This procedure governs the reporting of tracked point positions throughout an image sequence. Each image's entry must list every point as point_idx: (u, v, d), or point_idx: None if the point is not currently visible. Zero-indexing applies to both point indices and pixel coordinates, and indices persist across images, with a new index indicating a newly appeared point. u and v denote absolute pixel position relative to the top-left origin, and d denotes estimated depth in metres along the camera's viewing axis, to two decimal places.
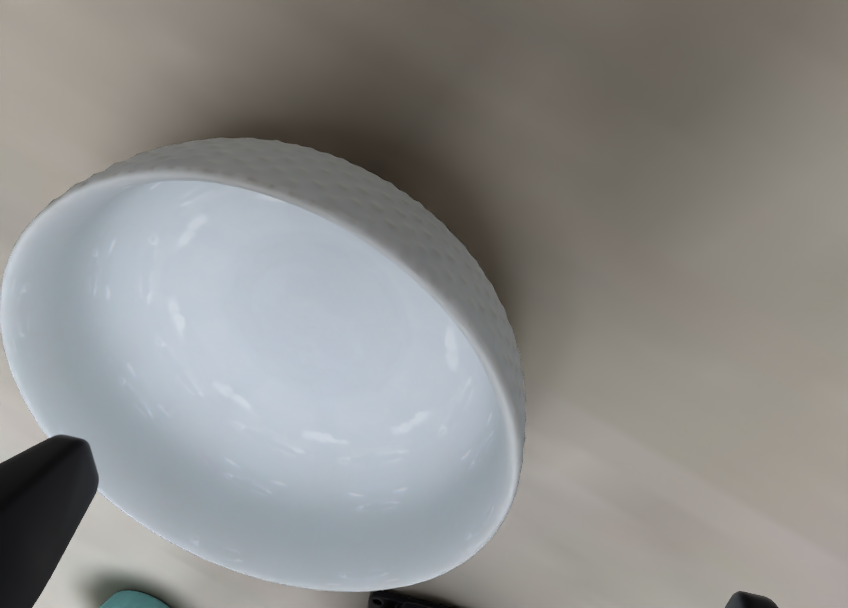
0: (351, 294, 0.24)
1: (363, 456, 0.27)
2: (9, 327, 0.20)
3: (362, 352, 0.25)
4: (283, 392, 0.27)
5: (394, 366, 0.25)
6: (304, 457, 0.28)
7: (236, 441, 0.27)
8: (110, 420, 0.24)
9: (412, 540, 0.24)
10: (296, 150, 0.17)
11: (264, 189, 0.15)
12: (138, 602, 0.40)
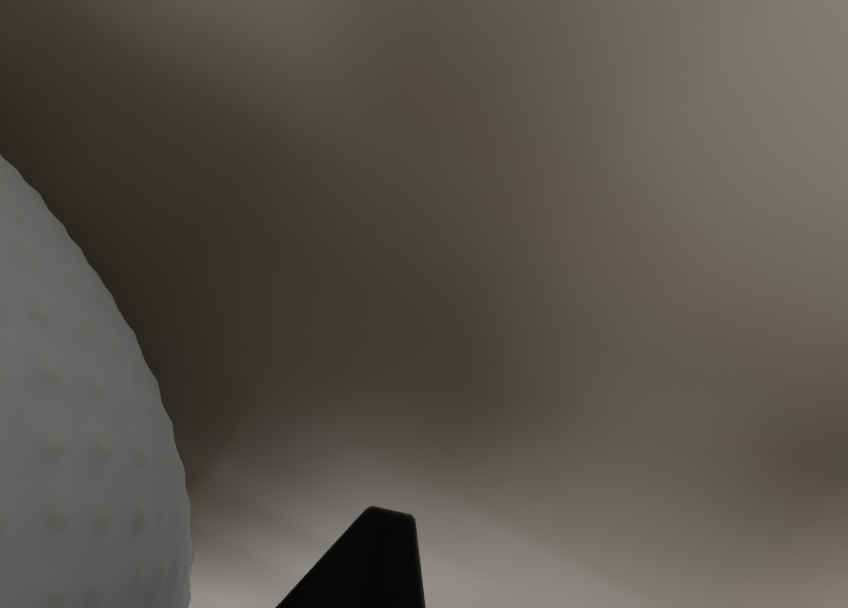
0: None
1: None
2: None
3: None
4: None
5: None
6: None
7: None
8: None
9: None
10: None
11: None
12: None
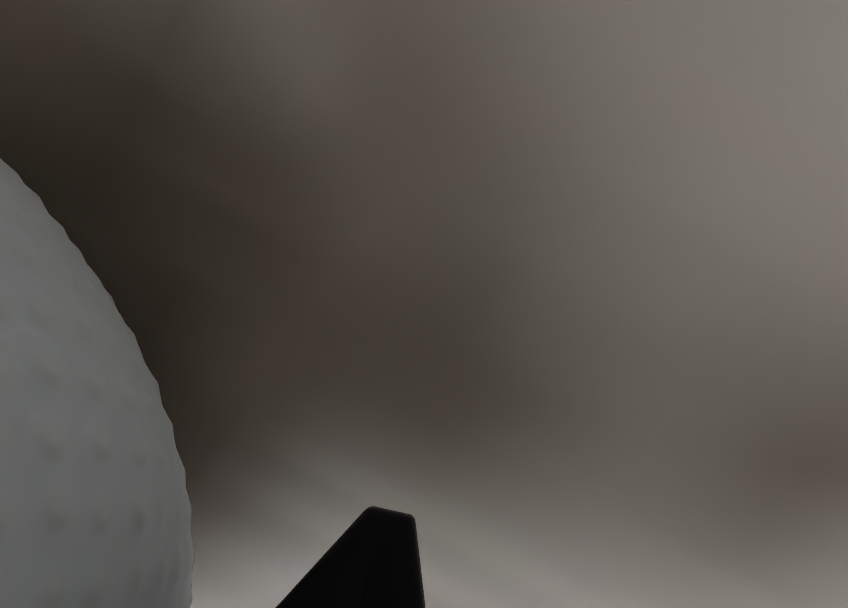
0: None
1: None
2: None
3: None
4: None
5: None
6: None
7: None
8: None
9: None
10: None
11: None
12: None
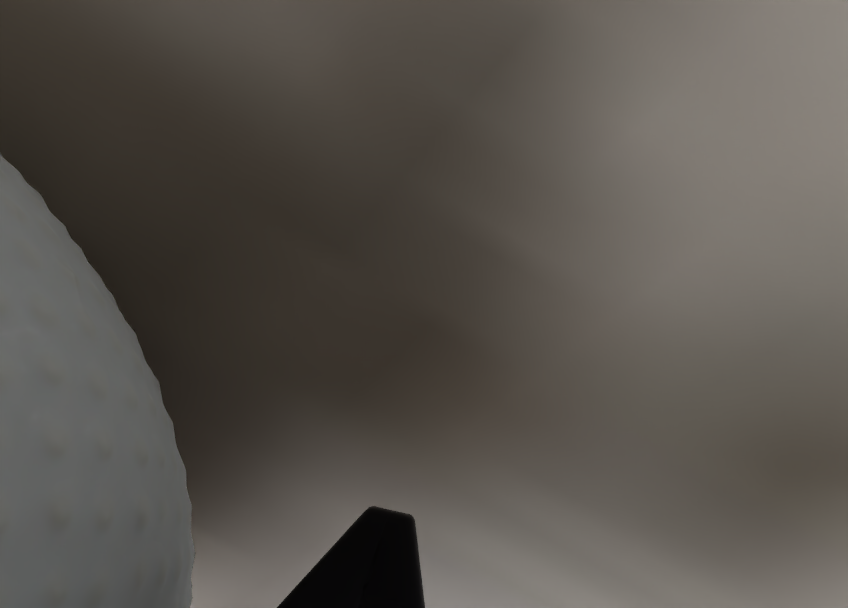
0: None
1: None
2: None
3: None
4: None
5: None
6: None
7: None
8: None
9: None
10: None
11: None
12: None
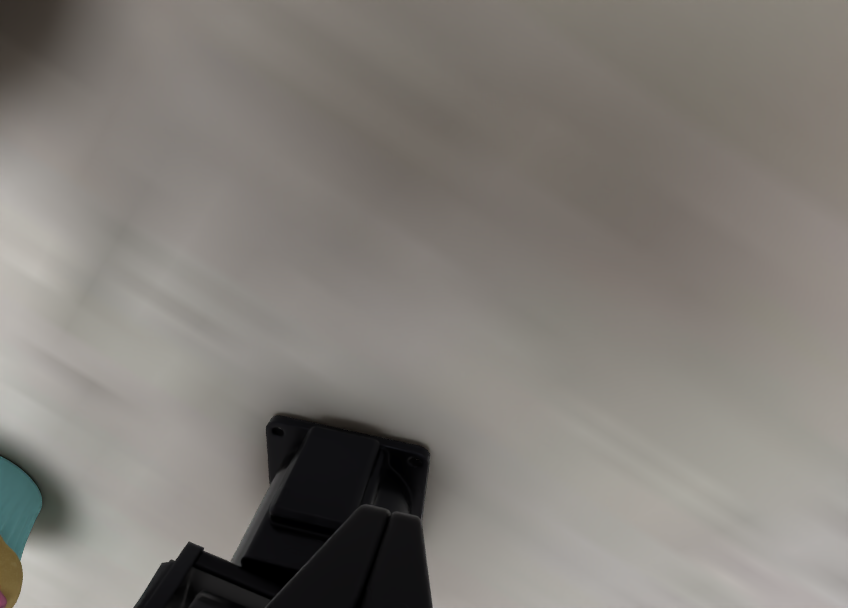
0: None
1: None
2: None
3: None
4: None
5: None
6: None
7: None
8: None
9: None
10: None
11: None
12: None
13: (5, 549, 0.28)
